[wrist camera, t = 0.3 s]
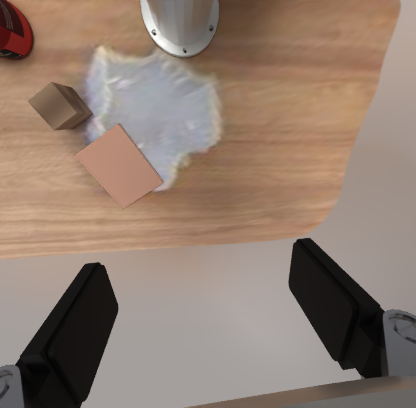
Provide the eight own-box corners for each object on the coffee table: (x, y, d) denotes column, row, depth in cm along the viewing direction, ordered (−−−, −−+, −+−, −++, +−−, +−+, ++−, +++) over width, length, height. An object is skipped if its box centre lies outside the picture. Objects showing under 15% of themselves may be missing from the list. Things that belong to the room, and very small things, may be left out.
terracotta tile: (76, 154, 40) (74, 155, 39) (119, 123, 39) (118, 123, 38) (124, 207, 45) (123, 208, 45) (163, 181, 44) (163, 182, 43)
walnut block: (51, 103, 36) (27, 101, 31) (72, 87, 36) (51, 82, 30) (72, 128, 38) (54, 130, 33) (92, 113, 38) (76, 112, 32)
